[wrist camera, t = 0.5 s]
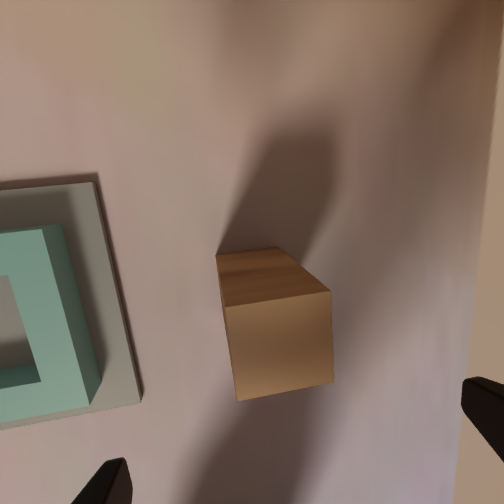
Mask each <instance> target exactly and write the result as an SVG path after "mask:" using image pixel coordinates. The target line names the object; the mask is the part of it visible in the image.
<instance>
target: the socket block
mask: <svg viewBox="0 0 504 504" xmlns="http://www.w3.org/2000/svg"><path fill="white" fill-rule="evenodd" d="M141 400H142V394H141V390H140V385H139V380H138V376H137V371H136V367H135V362H134V358H133V353H132V348H131V344H130V339H129V335H128V330H127V326H126V321H125V317H124V312H123V307H122V303H121V298H120V294H119V289H118V285H117V280H116V275H115V271H114V266H113V262H112V257H111V253H110V248H109V244H108V239H107V234H106V230H105V225H104V221H103V216H102V212H101V207H100V203H99V198H98V193H97V189H96V184H95V182H87V183H76V184H65V185H54V186H44V187H33V188H22V189H11V190H1V191H0V430H4V429H9V428H15V427H20V426H25V425H30V424H35V423H40V422H45V421H51V420H56V419H61V418H66V417H71V416H76V415H81V414H87V413H92V412H97V411H102V410H107V409H112V408H118V407H123V406H128V405H133V404H138V403H141Z"/></svg>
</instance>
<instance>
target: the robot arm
mask: <svg viewBox="0 0 504 504" xmlns="http://www.w3.org/2000/svg"><path fill="white" fill-rule="evenodd" d="M461 406H462V409H463V411H464V413H465V414H466V416H467V417H468V418H469V419H470V421H471V422H472V423H473V424H474V426H475V427H476V428H477V429H478V430H479V432H480V433H481V434H482V436H483V437H484V438H485V439H486V441H487V442H488V443H489V445H490V446H491V447H492V448H493V449H494V451H495V452H496V453H497V455H498V456H499V457H500V458H501V460H502V461H503V462H504V384H500V383H498V382H494V381H492V380H489V379H486V378H483V377H479V376H478V377H472V378H468V379H465V380H464V381H463V384H462V397H461ZM132 494H133V487H132V481H131V477H130V474H129V470H128V466H127V462H126V460H125V458H123V457H120V458H116V459H112V460H108V461H106V462H105V463H104V464H103V465H102V466H101V467H100V468H99V470H98V471H97V472H96V473H95V474H94V476H93V477H92V478H91V479H90V481H89V482H88V483H87V484H86V486H85V487H84V488H83V489H82V491H81V492H80V493H79V494H78V495H77V497H76V498H75V499H74V500H73V502H72V503H71V504H131V503H132Z"/></svg>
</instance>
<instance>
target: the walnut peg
mask: <svg viewBox="0 0 504 504" xmlns="http://www.w3.org/2000/svg"><path fill="white" fill-rule="evenodd" d="M216 263H217V271H218V278H219V286H220V294H221V301H222V309H223V316H224V322H225V329H226V335H227V341H228V347H229V354H230V360H231V366H232V372H233V378H234V385H235V391H236V397H237V402H238V401H243V400H247V399H252V398H257V397H262V396H267V395H272V394H277V393H282V392H287V391H292V390H297V389H302V388H307V387H312V386H317V385H322V384H327V383H331V382H334V373H333V342H332V312H331V291H330V290H329V289H328V288H327V287H326V286H324V285H323V284H322V283H321V282H320V281H318V280H317V279H316V278H315V277H314V276H312V275H311V274H310V273H309V272H308V271H306V270H305V269H304V268H303V267H302V266H300V265H299V264H298V263H297V262H296V261H294V260H293V259H292V258H291V257H290V256H288V255H287V254H286V253H285V252H284V251H283V250H281V249H280V248H279V247H273V248H265V249H258V250H250V251H243V252H235V253H227V254H220V255H216Z"/></svg>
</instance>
